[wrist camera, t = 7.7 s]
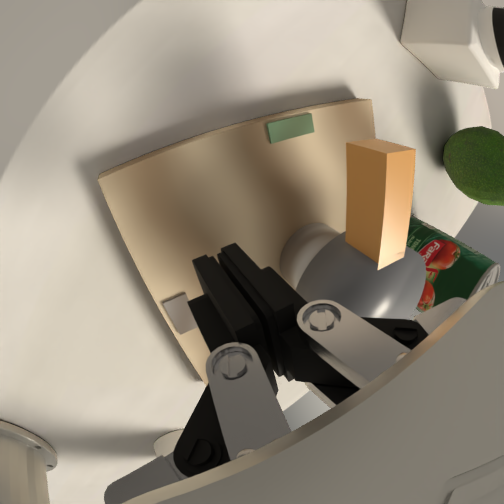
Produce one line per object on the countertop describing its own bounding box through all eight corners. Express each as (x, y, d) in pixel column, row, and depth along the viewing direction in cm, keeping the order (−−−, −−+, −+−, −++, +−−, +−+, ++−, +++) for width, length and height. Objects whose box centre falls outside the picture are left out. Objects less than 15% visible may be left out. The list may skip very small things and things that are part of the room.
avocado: (451, 192, 29) (532, 233, 19) (423, 174, 25) (524, 221, 16) (467, 133, 26) (550, 164, 16) (441, 105, 22) (544, 135, 13)
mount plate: (206, 381, 25) (228, 429, 21) (99, 174, 14) (89, 202, 10) (364, 299, 29) (399, 329, 25) (357, 98, 18) (416, 105, 14)
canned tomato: (410, 272, 32) (478, 322, 23) (366, 290, 29) (442, 354, 20) (426, 211, 28) (507, 255, 19) (381, 219, 25) (479, 277, 16)
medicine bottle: (438, 80, 21) (544, 104, 11) (397, 43, 17) (528, 54, 8) (445, 28, 18) (544, 41, 9) (406, -12, 15) (521, -14, 5)
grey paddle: (382, 307, 21) (410, 331, 18) (293, 354, 19) (319, 388, 16) (401, 132, 14) (447, 145, 11) (280, 149, 12) (327, 164, 9)
